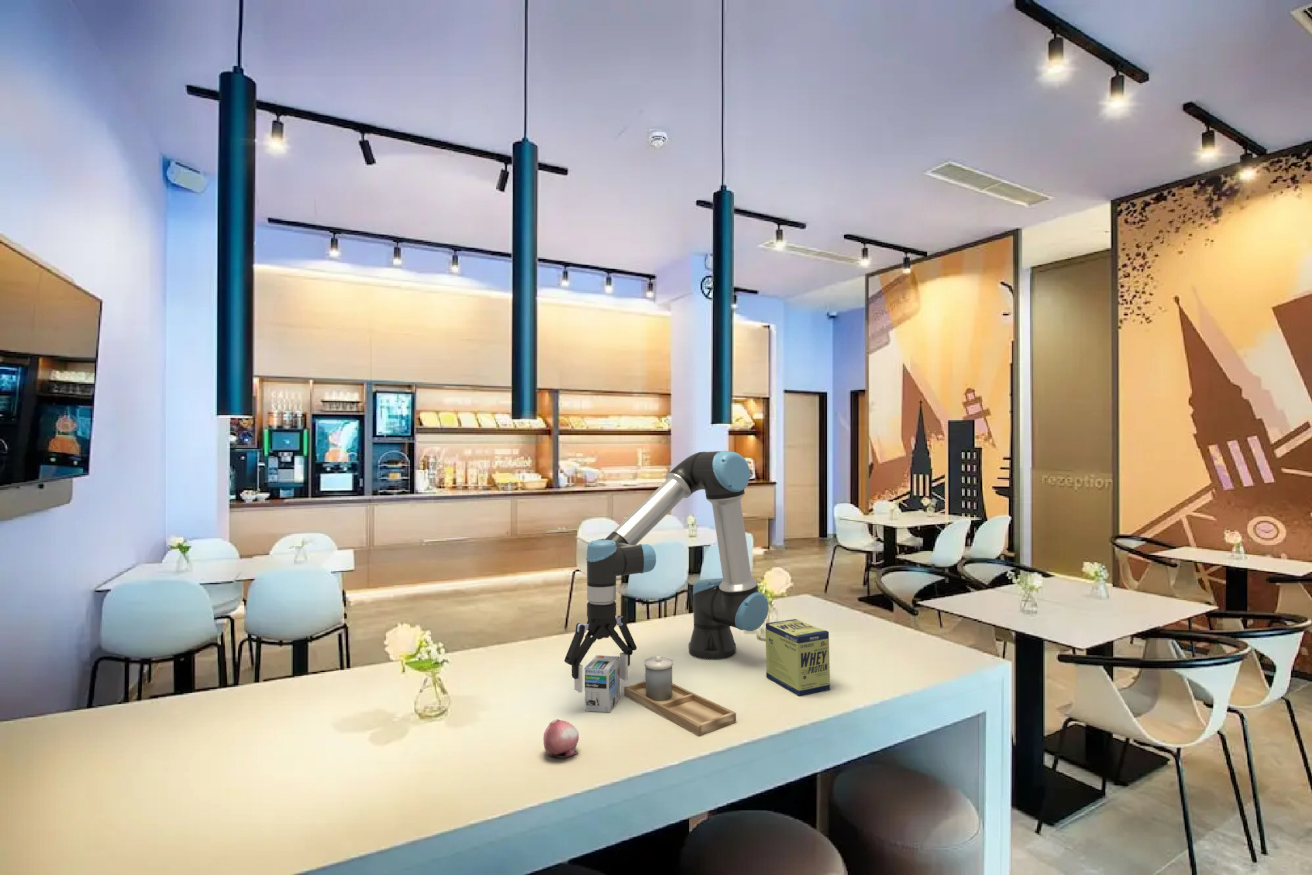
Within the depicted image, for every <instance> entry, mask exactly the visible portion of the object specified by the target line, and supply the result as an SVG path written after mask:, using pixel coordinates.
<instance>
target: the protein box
mask: <svg viewBox="0 0 1312 875" xmlns="http://www.w3.org/2000/svg"><path fill="white" fill-rule="evenodd" d="M829 633H830V632H829V631H828V630H825V629H822V628H820V627H817V626H815V625H812V624H810V623H807V622H804V621H801V620H800V619H797V618H796V619H795V618H793V619H786V620H779V621H773V622H766V623H765V657H766V658H765V660H766V661H765V662H766V664H765V665H766V666H765V667H766V675H765V676H766V678H767V679H768V680H770V681H772V682H774V683H775V684H777V685H779V686H780V687H782V688H783V689H785V690H787V691H789V692H791V693H793V694H794V695H796V696H797V697H801V696H806V695H810V694H816V693H821V692H826V691H830V690H831V675H830V670H831V669H830V634H829Z"/></svg>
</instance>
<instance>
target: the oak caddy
mask: <svg viewBox="0 0 1312 875" xmlns="http://www.w3.org/2000/svg"><path fill="white" fill-rule="evenodd" d="M672 691H673V696H672V698H671V699H669V700H666V701H654V700H652V699H650V698H648V697H646V685H645V680H643V681H640V682H637V683H633V684H630V685H626V686H624V687H623V696H624V697H626V698H627V699H630V700H632V701H634V702H635V703H637V704H638V705H641V706H643V707H644V708H646V709H649V710H650V711H652V712H654V713H656V714H658V715H659V716H661V717H662V718H664V719H666V720H668V721H670V722H672V723H674V724H676V725H677V726H680V727H681V728H683V729H685V730H687V731H688V732H690V733H692V734H694V735H696V736H697V737H701V736H702V735H703V736H704V735H706V734H708V733H711V732H714V731H716V730H719V729H722V728H724V727H727V726H730V725H733V724H735V723H737V712H735V711H732V710H731V709H728V708H727V707H725V706H722V705H720V704H718V703H716V702H715V701H711V700H709V699H707V698H705V697H704V696H703V697H702V696H701V695H698V694H696V693H694V692H692V691H690V690H688V689H686V688H684V687H681V686H679V685H677V684H675V683H673V682H672Z"/></svg>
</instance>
